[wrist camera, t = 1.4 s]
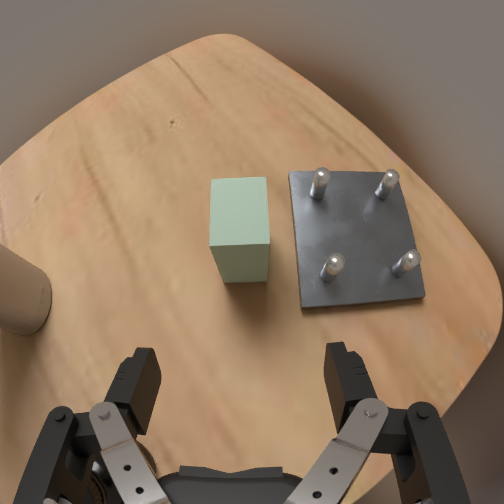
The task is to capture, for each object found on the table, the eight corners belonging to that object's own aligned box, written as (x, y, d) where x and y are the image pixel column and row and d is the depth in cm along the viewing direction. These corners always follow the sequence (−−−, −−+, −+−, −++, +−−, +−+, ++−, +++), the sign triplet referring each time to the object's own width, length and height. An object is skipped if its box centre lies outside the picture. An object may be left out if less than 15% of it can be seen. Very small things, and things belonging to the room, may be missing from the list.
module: (223, 282, 33) (209, 246, 23) (223, 230, 35) (211, 179, 26) (267, 281, 33) (270, 243, 23) (264, 228, 35) (265, 176, 25)
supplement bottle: (135, 500, 24) (84, 543, 12) (89, 459, 25) (24, 483, 14) (169, 464, 25) (123, 505, 14) (119, 421, 27) (55, 438, 16)
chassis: (300, 309, 31) (308, 297, 26) (288, 177, 37) (291, 149, 32) (420, 298, 31) (443, 286, 26) (393, 178, 37) (407, 153, 32)
